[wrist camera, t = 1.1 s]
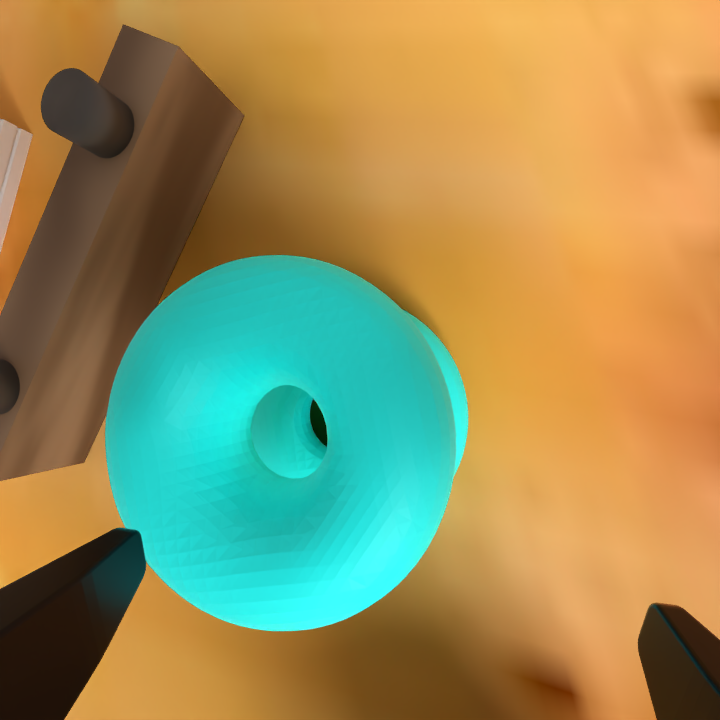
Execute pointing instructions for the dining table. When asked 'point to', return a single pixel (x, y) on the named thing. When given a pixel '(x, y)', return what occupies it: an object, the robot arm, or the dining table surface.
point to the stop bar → (104, 240)
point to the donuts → (283, 441)
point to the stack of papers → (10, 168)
